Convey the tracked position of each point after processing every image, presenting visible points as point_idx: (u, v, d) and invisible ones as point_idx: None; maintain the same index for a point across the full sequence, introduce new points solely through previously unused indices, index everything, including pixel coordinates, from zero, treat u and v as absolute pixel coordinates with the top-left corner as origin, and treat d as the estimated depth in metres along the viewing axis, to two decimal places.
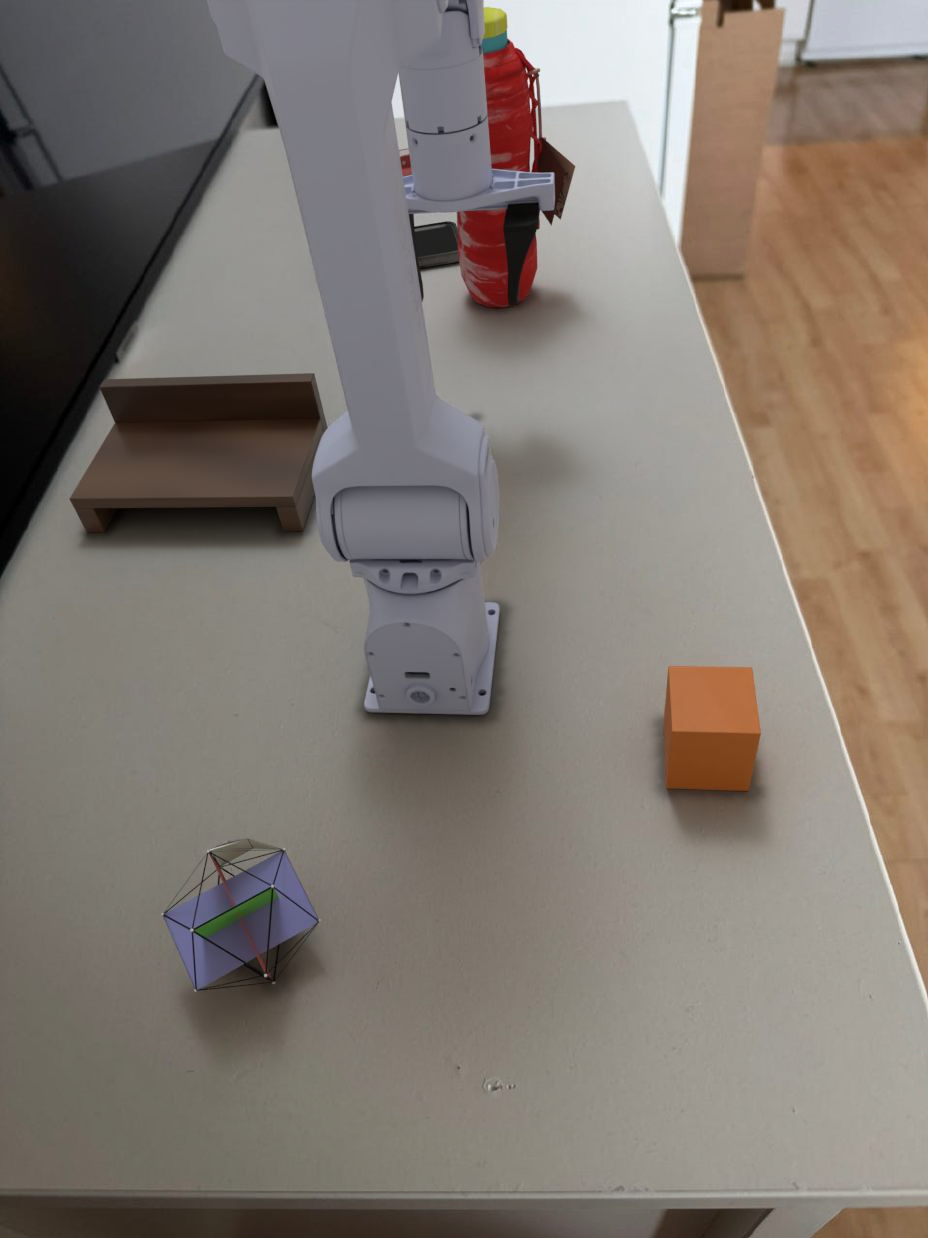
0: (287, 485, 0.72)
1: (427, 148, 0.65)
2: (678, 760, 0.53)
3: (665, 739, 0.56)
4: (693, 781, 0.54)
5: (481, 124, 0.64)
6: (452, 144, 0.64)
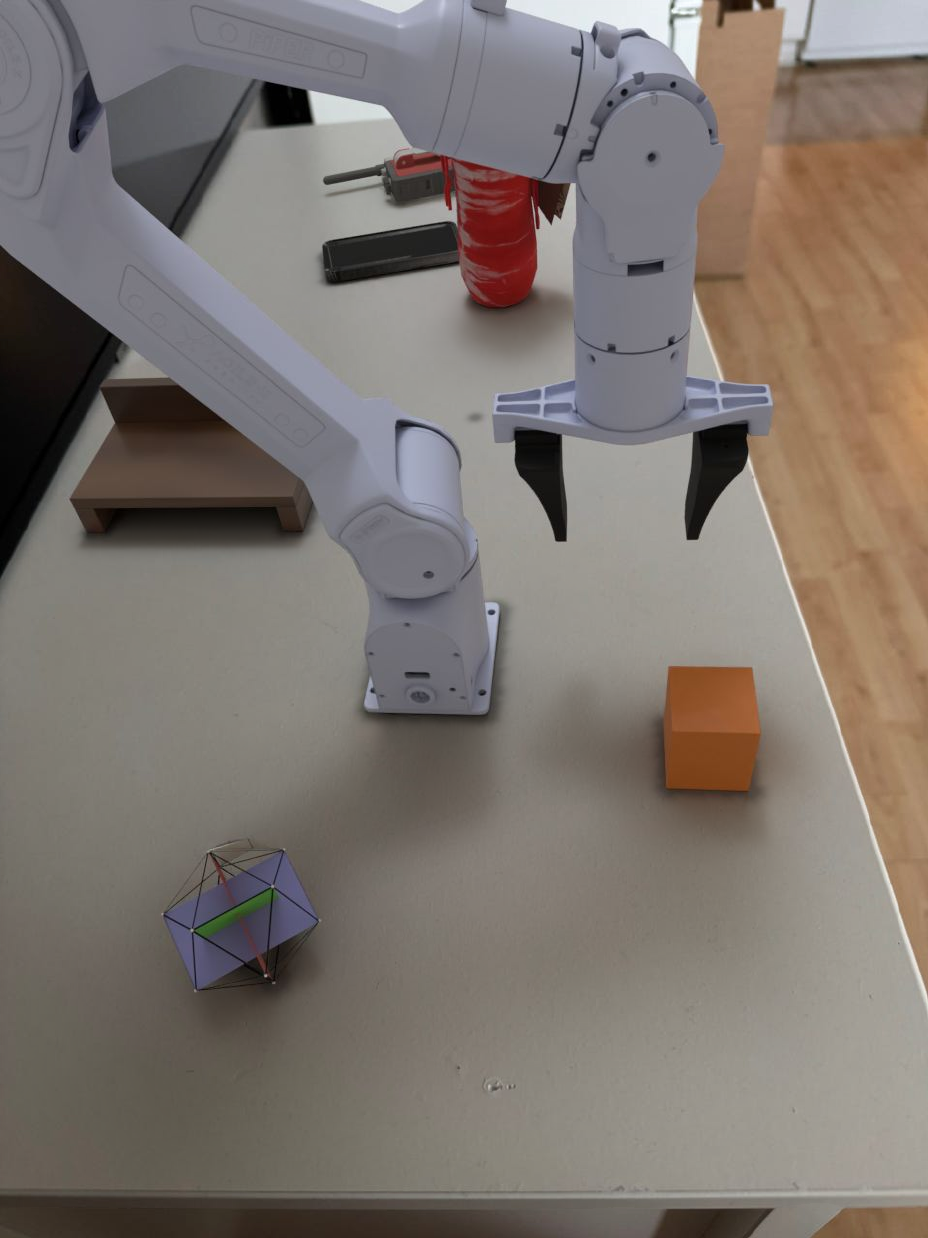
0: (287, 485, 0.72)
1: (610, 369, 0.46)
2: (678, 760, 0.53)
3: (665, 739, 0.56)
4: (693, 781, 0.54)
5: (686, 336, 0.46)
6: (647, 366, 0.46)
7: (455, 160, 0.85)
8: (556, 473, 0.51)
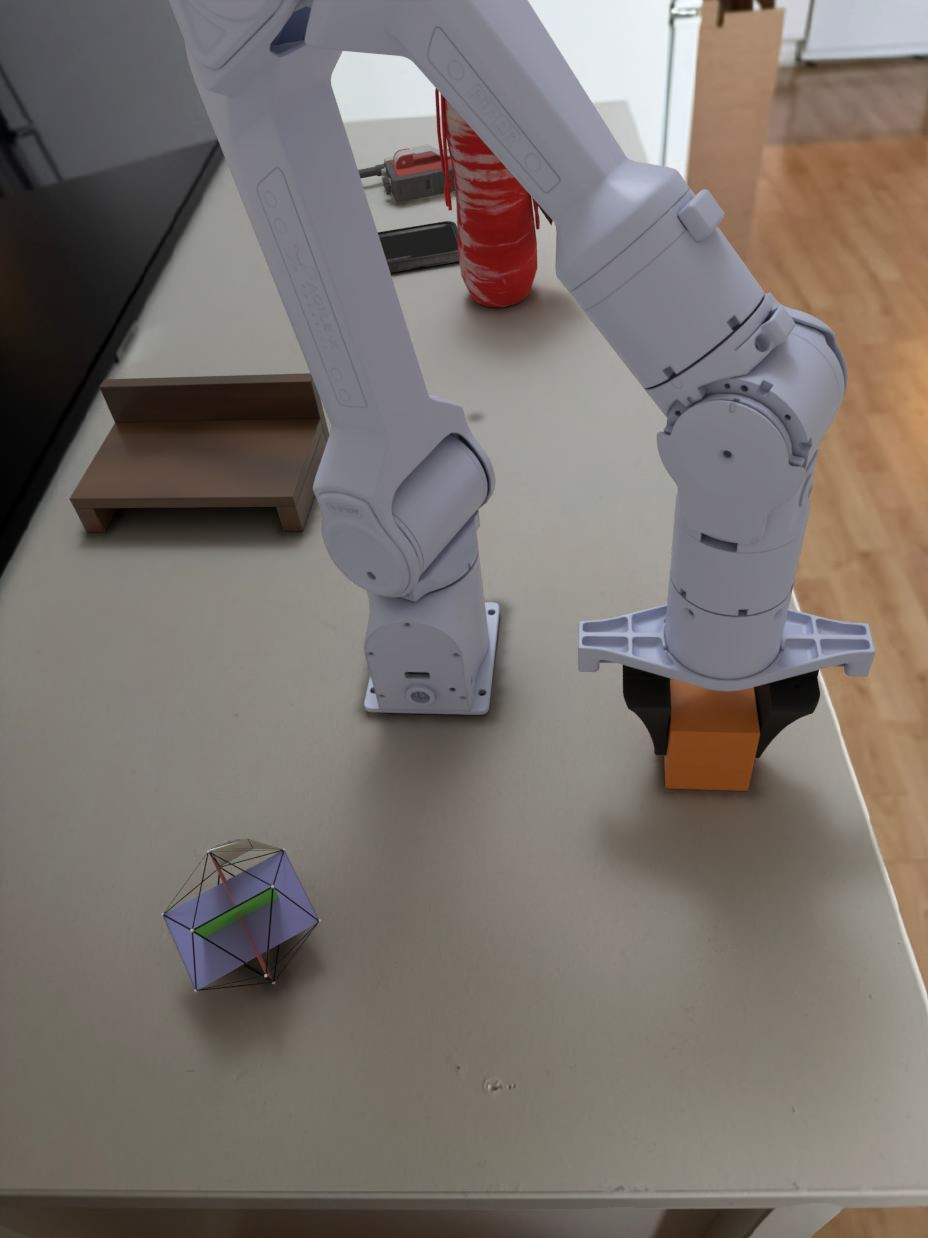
0: (287, 485, 0.72)
1: (709, 626, 0.44)
2: (678, 760, 0.53)
3: None
4: (692, 781, 0.54)
5: (790, 594, 0.44)
6: (749, 626, 0.44)
7: (455, 160, 0.85)
8: (667, 709, 0.49)
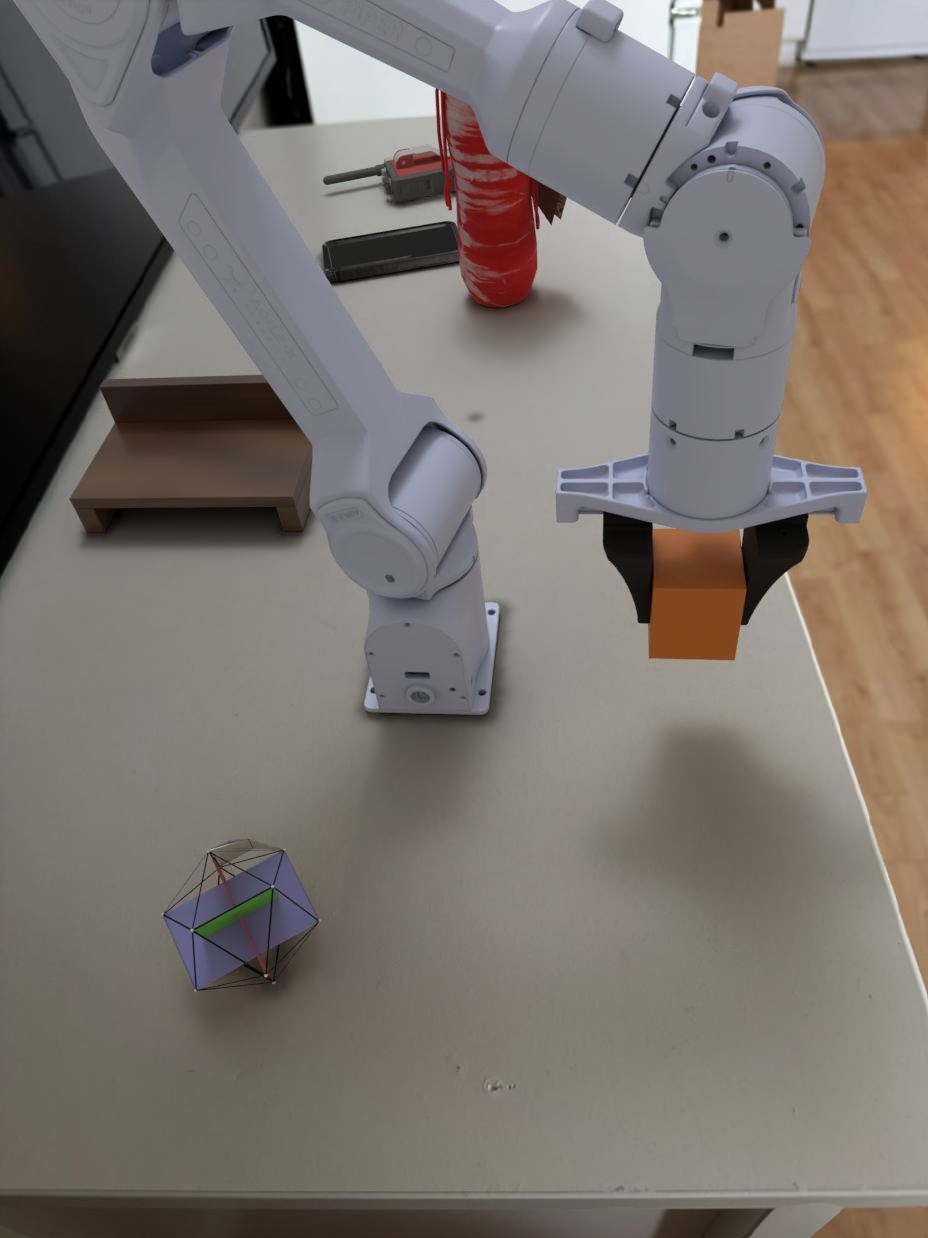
0: (287, 485, 0.72)
1: (692, 455, 0.42)
2: (661, 623, 0.50)
3: None
4: (677, 649, 0.52)
5: (777, 420, 0.42)
6: (734, 453, 0.41)
7: (455, 160, 0.85)
8: (649, 559, 0.46)
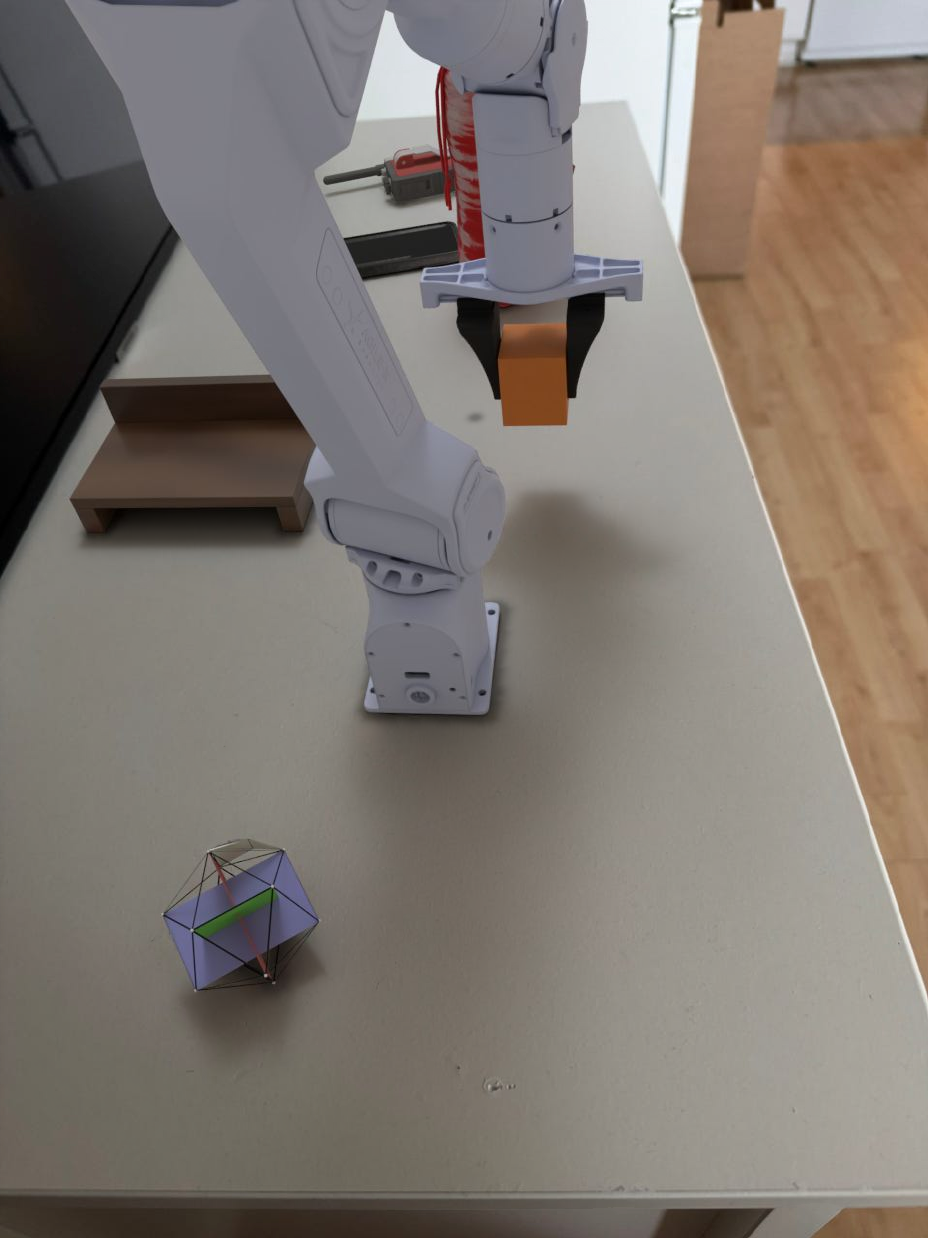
0: (287, 485, 0.72)
1: (506, 237, 0.58)
2: (507, 392, 0.66)
3: None
4: (522, 416, 0.68)
5: (567, 211, 0.58)
6: (535, 234, 0.57)
7: (455, 160, 0.85)
8: (489, 330, 0.63)
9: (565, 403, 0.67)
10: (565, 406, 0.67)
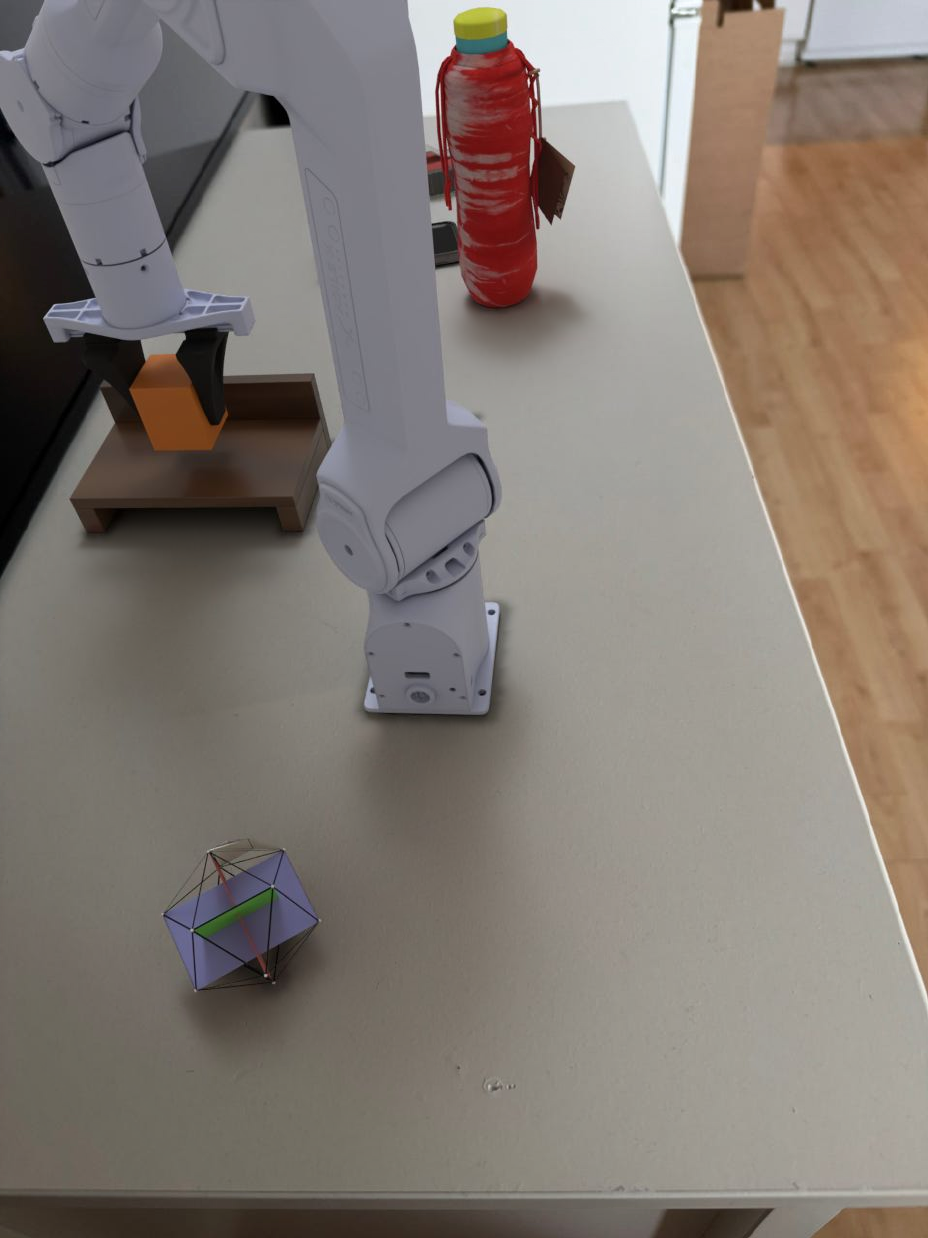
0: (287, 485, 0.72)
1: (97, 278, 0.62)
2: (148, 419, 0.70)
3: None
4: (169, 441, 0.71)
5: (153, 254, 0.61)
6: (121, 275, 0.61)
7: (455, 160, 0.85)
8: (110, 364, 0.66)
9: (203, 429, 0.70)
10: (204, 432, 0.70)
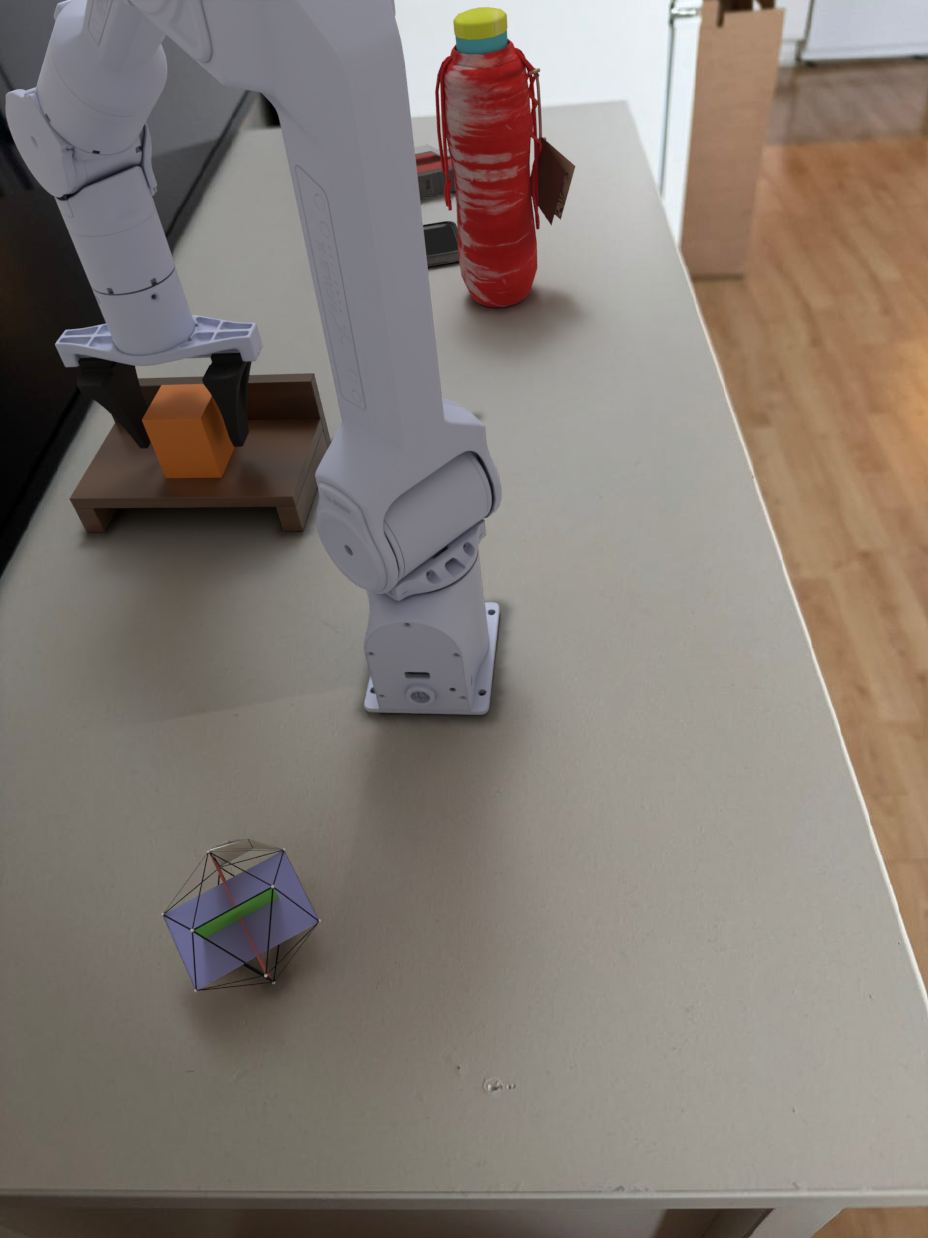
0: (287, 485, 0.72)
1: (109, 307, 0.63)
2: (159, 448, 0.72)
3: None
4: (180, 469, 0.73)
5: (163, 283, 0.63)
6: (132, 304, 0.63)
7: (455, 160, 0.85)
8: (104, 389, 0.68)
9: (213, 458, 0.72)
10: (214, 461, 0.72)
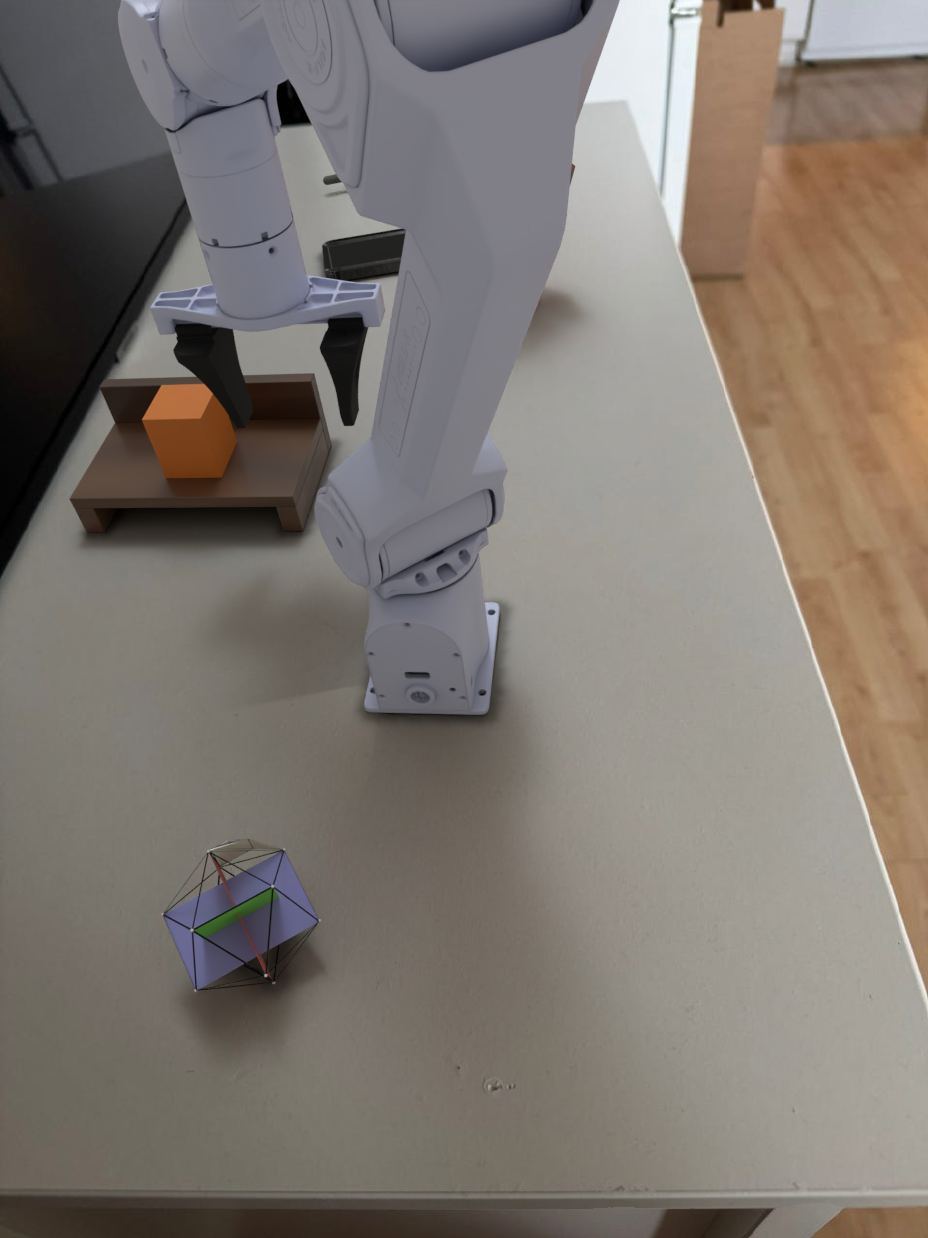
0: (287, 485, 0.72)
1: (220, 262, 0.55)
2: (159, 448, 0.72)
3: None
4: (180, 469, 0.73)
5: (282, 234, 0.55)
6: (247, 258, 0.54)
7: None
8: (205, 359, 0.60)
9: (213, 458, 0.72)
10: (214, 461, 0.72)
